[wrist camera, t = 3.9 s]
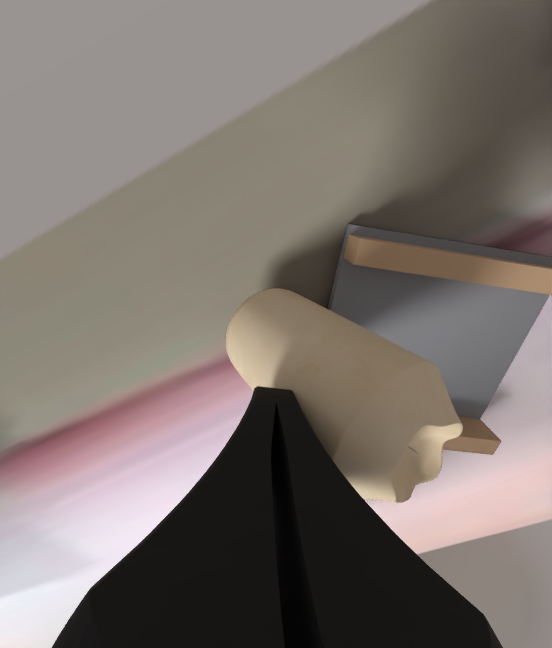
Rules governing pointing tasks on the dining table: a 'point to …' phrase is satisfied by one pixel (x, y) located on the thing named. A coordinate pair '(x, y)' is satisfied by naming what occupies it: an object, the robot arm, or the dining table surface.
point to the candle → (348, 390)
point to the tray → (445, 310)
